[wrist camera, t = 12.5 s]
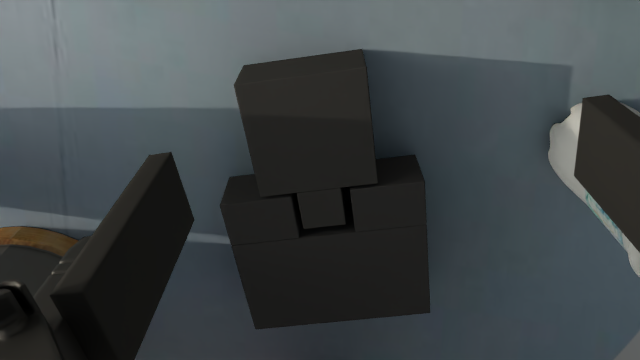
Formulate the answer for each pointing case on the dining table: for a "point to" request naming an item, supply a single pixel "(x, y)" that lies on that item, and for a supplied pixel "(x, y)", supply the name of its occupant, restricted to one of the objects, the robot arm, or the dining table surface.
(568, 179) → the bottle
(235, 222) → the charcoal pad
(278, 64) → the black pad
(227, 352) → the dining table surface
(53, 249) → the decorative piece
